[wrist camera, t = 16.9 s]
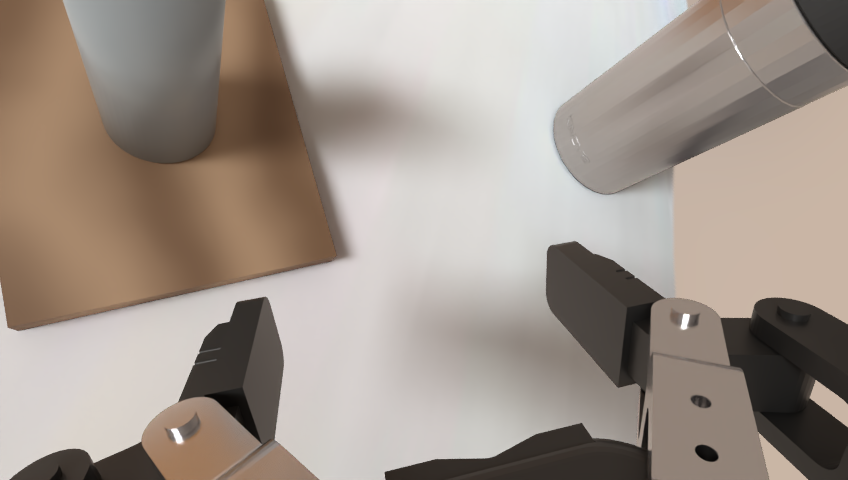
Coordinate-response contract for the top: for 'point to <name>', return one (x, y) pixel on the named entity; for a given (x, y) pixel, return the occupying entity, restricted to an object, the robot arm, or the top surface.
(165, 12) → the slate bottle
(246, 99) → the walnut board
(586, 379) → the top surface
